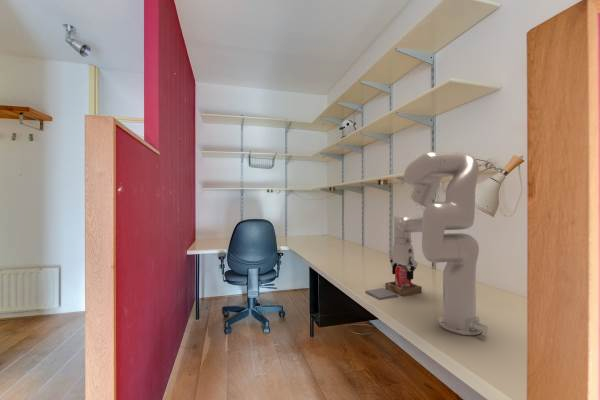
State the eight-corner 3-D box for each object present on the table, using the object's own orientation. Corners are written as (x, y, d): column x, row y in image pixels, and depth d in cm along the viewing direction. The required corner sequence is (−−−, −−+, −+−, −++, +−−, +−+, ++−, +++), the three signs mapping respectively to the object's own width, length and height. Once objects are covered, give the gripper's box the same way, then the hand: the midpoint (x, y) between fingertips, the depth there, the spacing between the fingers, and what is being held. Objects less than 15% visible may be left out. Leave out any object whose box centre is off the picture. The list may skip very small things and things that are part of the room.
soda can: (401, 287, 133) (400, 263, 133) (414, 291, 127) (413, 266, 127) (392, 290, 128) (391, 265, 129) (405, 294, 123) (405, 268, 123)
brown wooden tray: (421, 292, 125) (421, 286, 125) (402, 296, 120) (402, 289, 120) (403, 285, 135) (403, 280, 135) (385, 288, 131) (385, 282, 131)
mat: (397, 296, 120) (397, 294, 120) (379, 299, 116) (379, 297, 116) (382, 290, 129) (382, 287, 129) (365, 292, 125) (365, 290, 125)
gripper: (422, 243, 121) (422, 280, 122) (395, 237, 137) (395, 271, 138) (410, 244, 119) (410, 282, 119) (383, 238, 134) (384, 272, 135)
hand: (402, 276), depth 128 cm, fingers open, 9 cm apart
